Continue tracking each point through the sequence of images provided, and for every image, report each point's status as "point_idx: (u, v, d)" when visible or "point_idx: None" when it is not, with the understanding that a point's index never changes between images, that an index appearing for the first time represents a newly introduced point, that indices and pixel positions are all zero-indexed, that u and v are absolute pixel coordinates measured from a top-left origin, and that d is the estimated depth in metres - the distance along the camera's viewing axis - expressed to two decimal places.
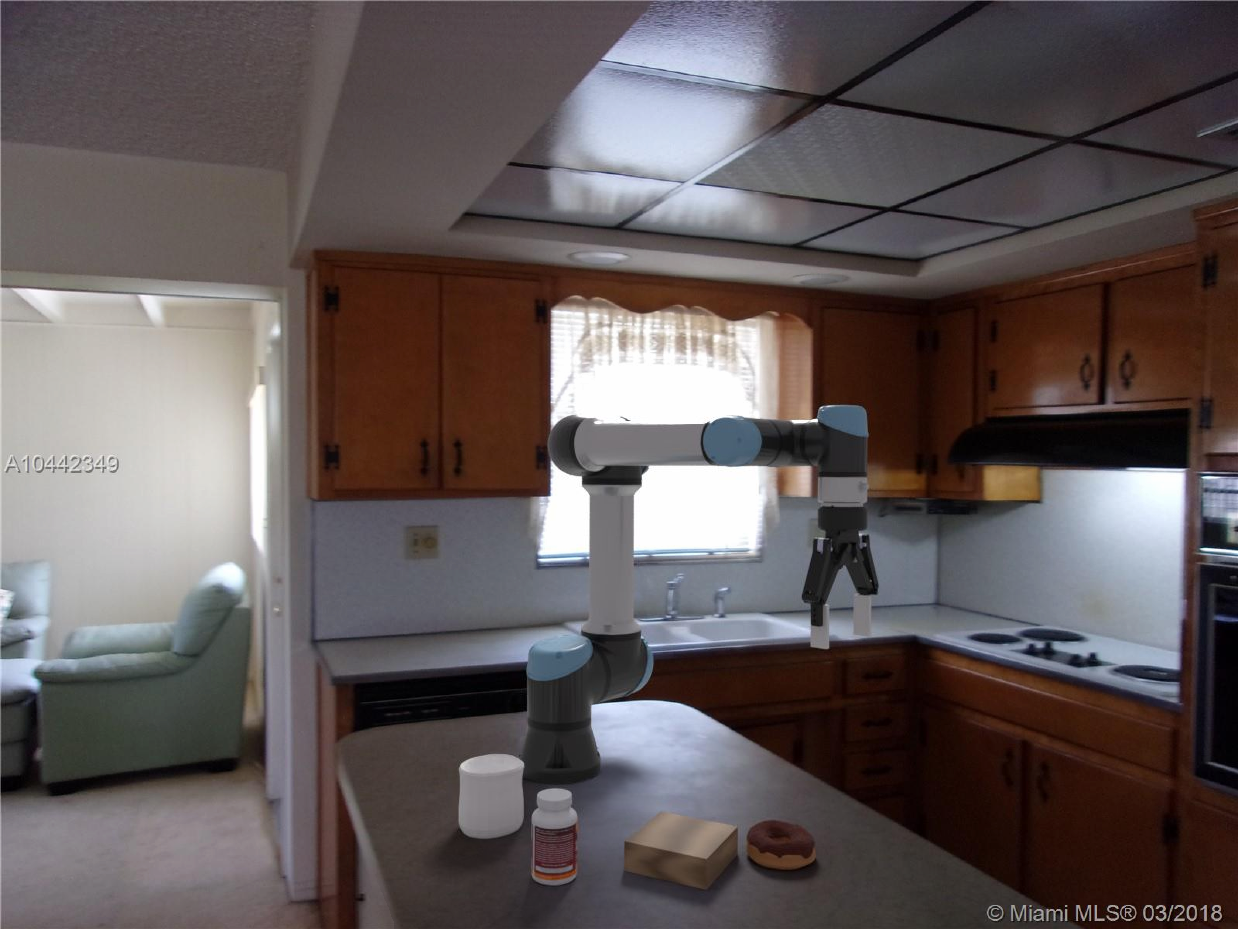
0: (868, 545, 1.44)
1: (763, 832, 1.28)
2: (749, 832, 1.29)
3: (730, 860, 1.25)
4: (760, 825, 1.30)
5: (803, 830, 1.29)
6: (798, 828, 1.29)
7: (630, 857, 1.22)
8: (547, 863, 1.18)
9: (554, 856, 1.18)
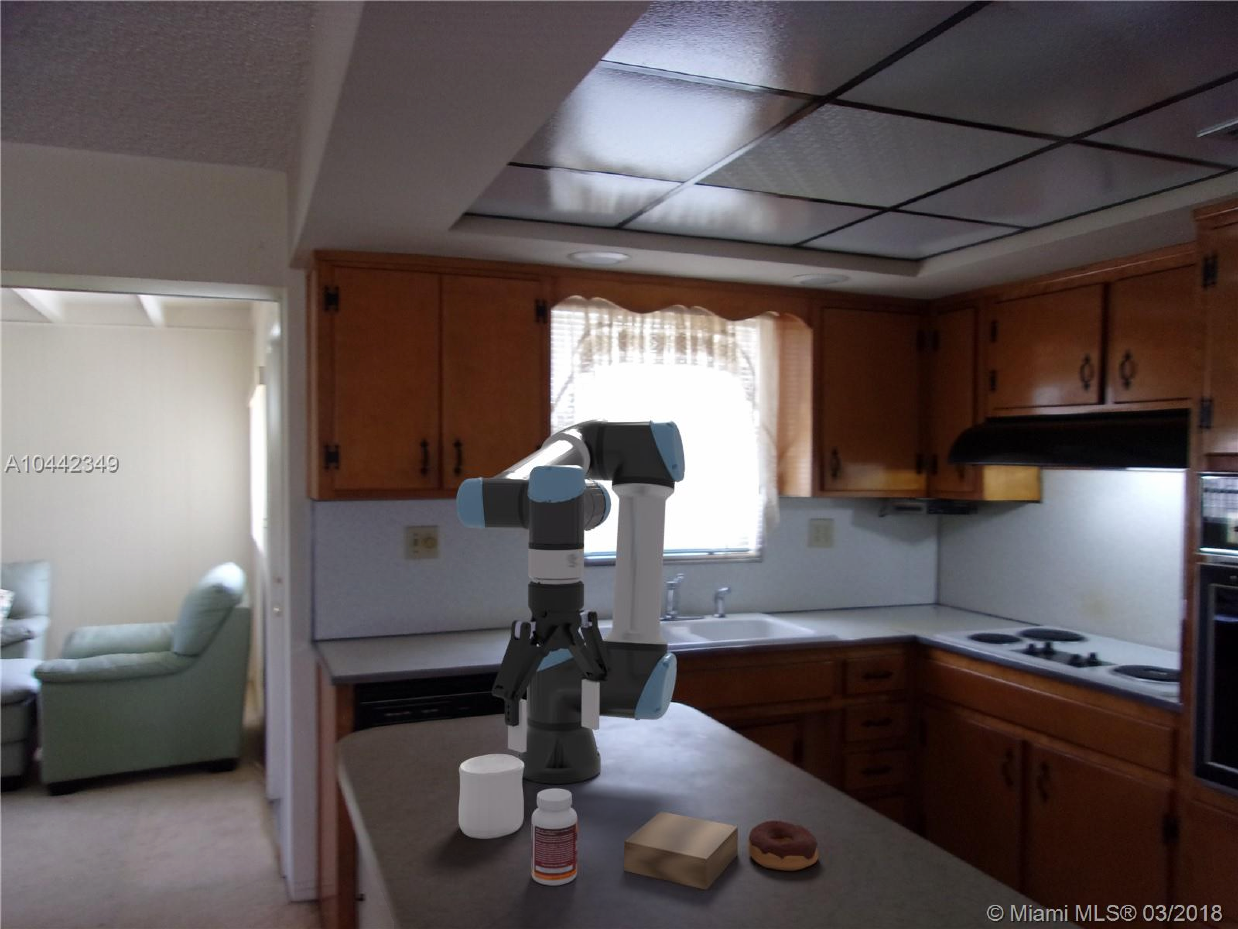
0: (594, 625, 1.25)
1: (765, 832, 1.28)
2: (751, 833, 1.28)
3: (730, 860, 1.25)
4: (762, 826, 1.30)
5: (805, 831, 1.28)
6: (800, 829, 1.29)
7: (630, 857, 1.22)
8: (547, 863, 1.18)
9: (554, 856, 1.18)
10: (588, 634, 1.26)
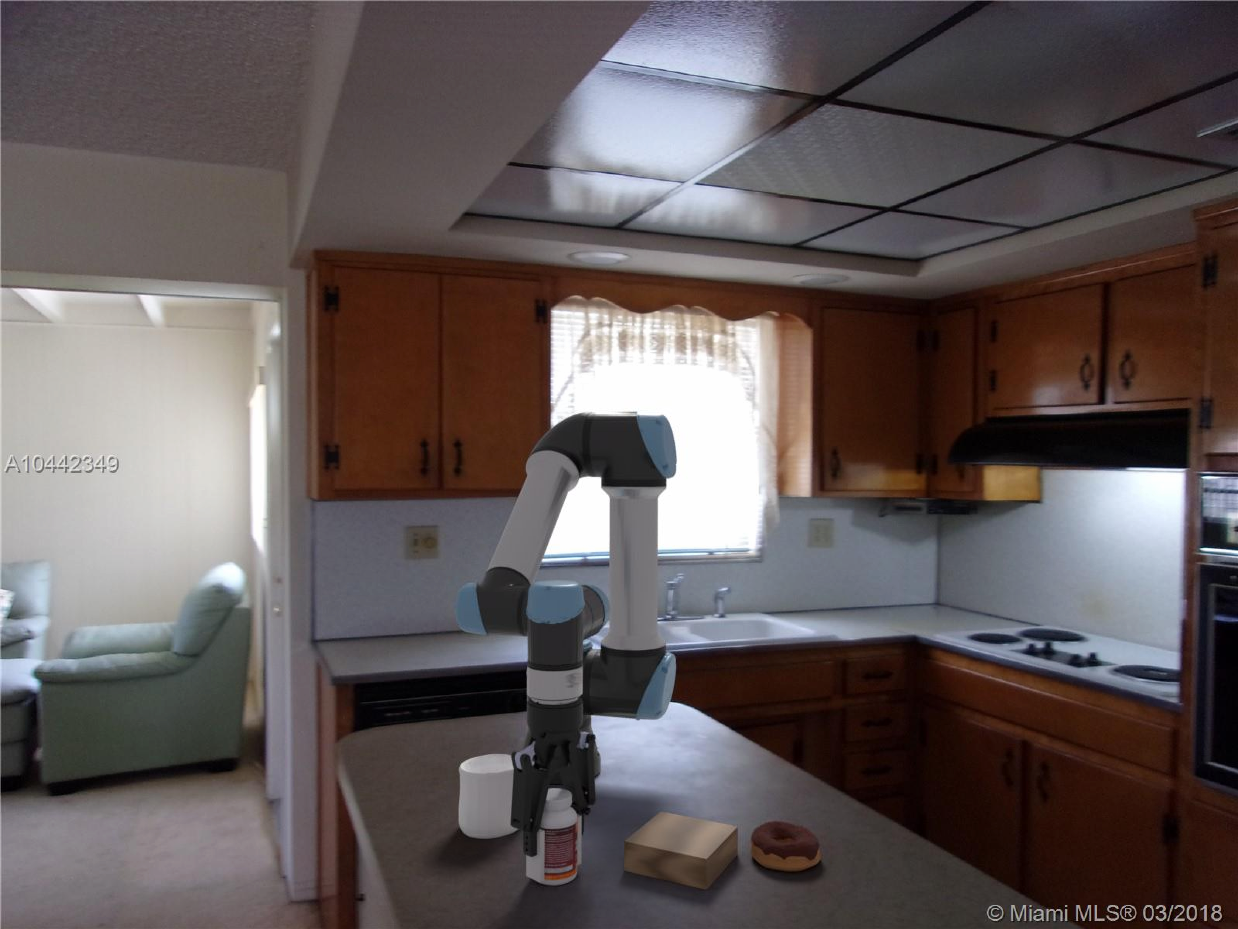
0: (590, 748, 1.25)
1: (767, 833, 1.28)
2: (753, 833, 1.28)
3: (730, 860, 1.25)
4: (764, 826, 1.30)
5: (808, 832, 1.28)
6: (803, 829, 1.28)
7: (630, 857, 1.22)
8: (547, 862, 1.18)
9: (554, 856, 1.18)
10: (581, 756, 1.25)
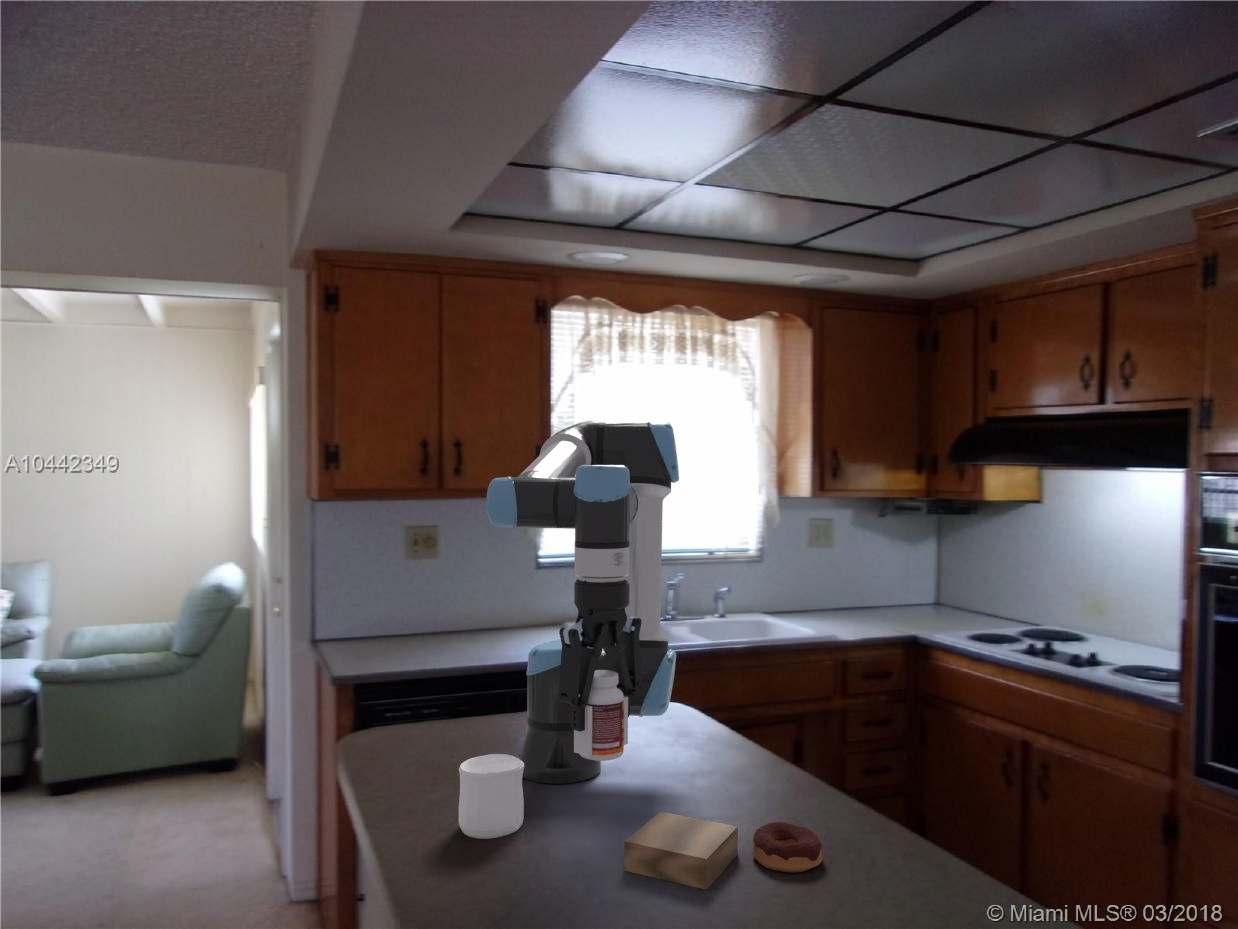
0: (636, 631, 1.26)
1: (769, 834, 1.28)
2: (755, 834, 1.28)
3: (730, 860, 1.25)
4: (766, 827, 1.29)
5: (810, 832, 1.28)
6: (805, 830, 1.28)
7: (630, 857, 1.22)
8: (595, 738, 1.20)
9: (601, 732, 1.20)
10: (627, 640, 1.26)
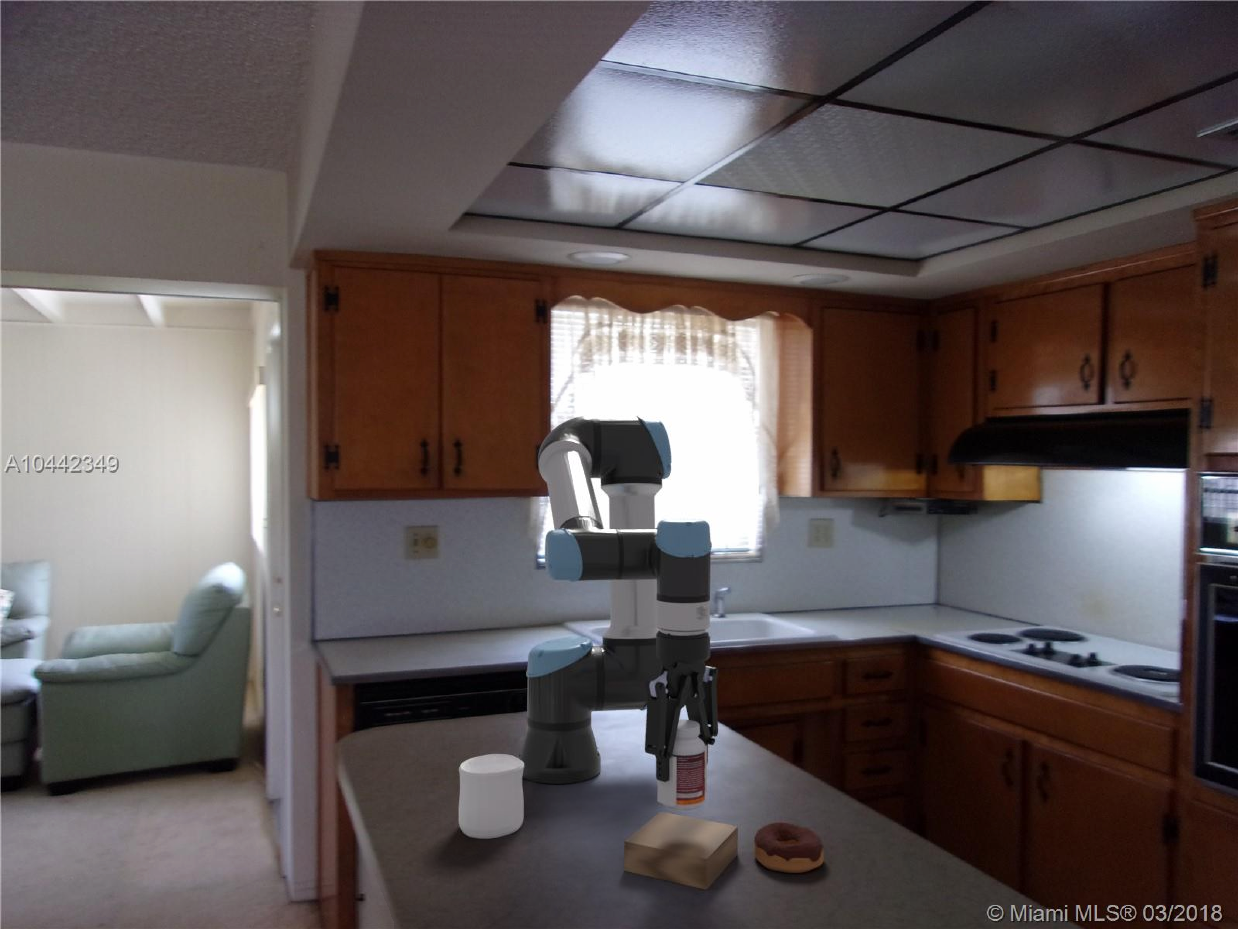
0: (714, 681, 1.29)
1: (771, 834, 1.27)
2: (757, 835, 1.28)
3: (730, 860, 1.25)
4: (768, 828, 1.29)
5: (811, 833, 1.28)
6: (806, 831, 1.28)
7: (630, 857, 1.22)
8: (679, 788, 1.22)
9: (685, 782, 1.22)
10: (705, 689, 1.29)
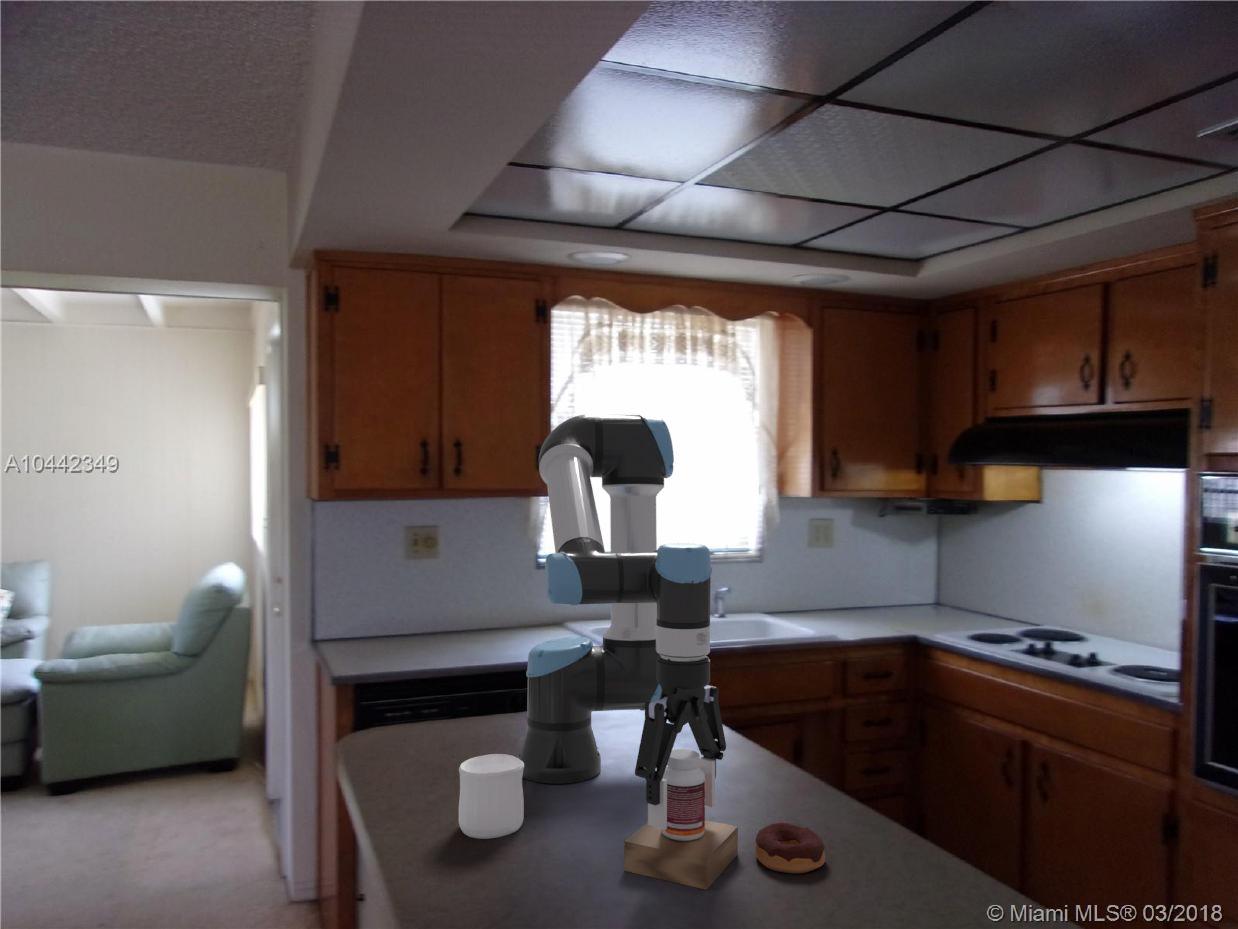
0: (715, 700, 1.29)
1: (772, 835, 1.27)
2: (758, 835, 1.27)
3: (730, 860, 1.25)
4: (769, 828, 1.29)
5: (812, 833, 1.27)
6: (807, 831, 1.28)
7: (630, 857, 1.22)
8: (679, 819, 1.23)
9: (685, 813, 1.23)
10: (708, 709, 1.30)
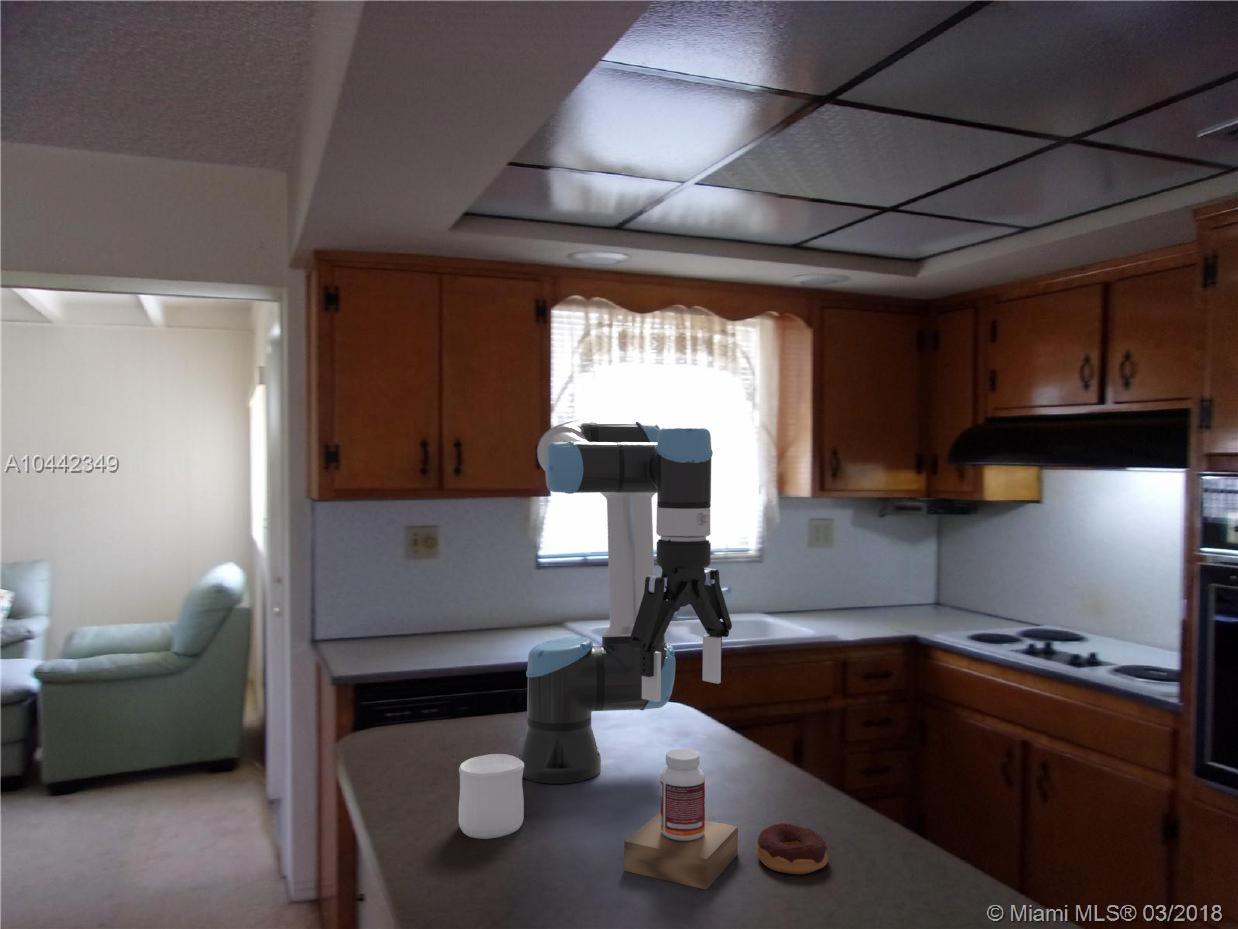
0: (717, 582, 1.30)
1: (774, 836, 1.27)
2: (760, 836, 1.27)
3: (730, 860, 1.25)
4: (771, 829, 1.29)
5: (815, 834, 1.27)
6: (810, 832, 1.28)
7: (630, 857, 1.22)
8: (679, 819, 1.23)
9: (685, 813, 1.23)
10: (710, 591, 1.30)
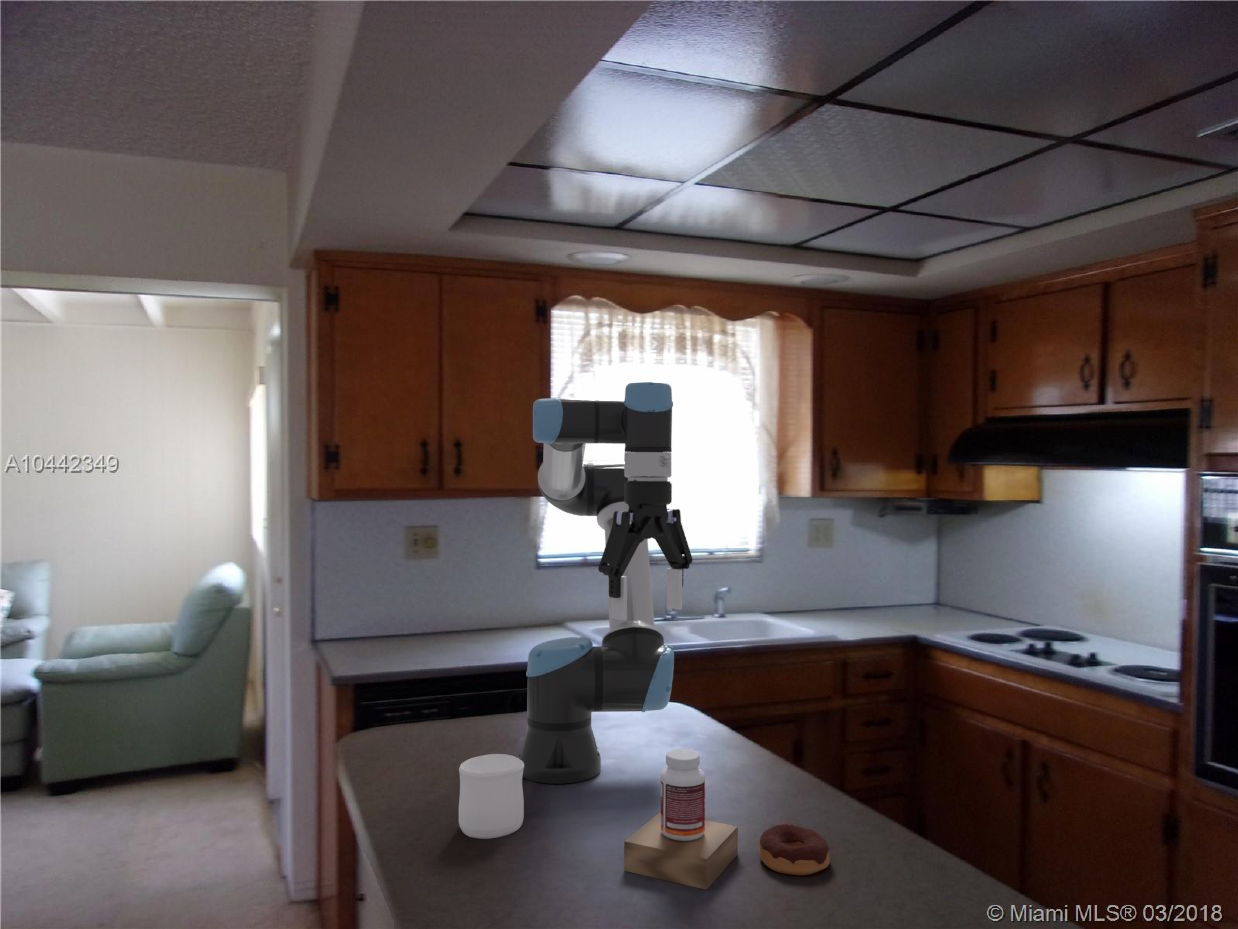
0: (678, 520, 1.47)
1: (776, 836, 1.27)
2: (762, 836, 1.27)
3: (730, 860, 1.25)
4: (773, 829, 1.28)
5: (817, 835, 1.27)
6: (812, 833, 1.27)
7: (630, 857, 1.22)
8: (679, 819, 1.23)
9: (685, 813, 1.23)
10: (672, 529, 1.48)
